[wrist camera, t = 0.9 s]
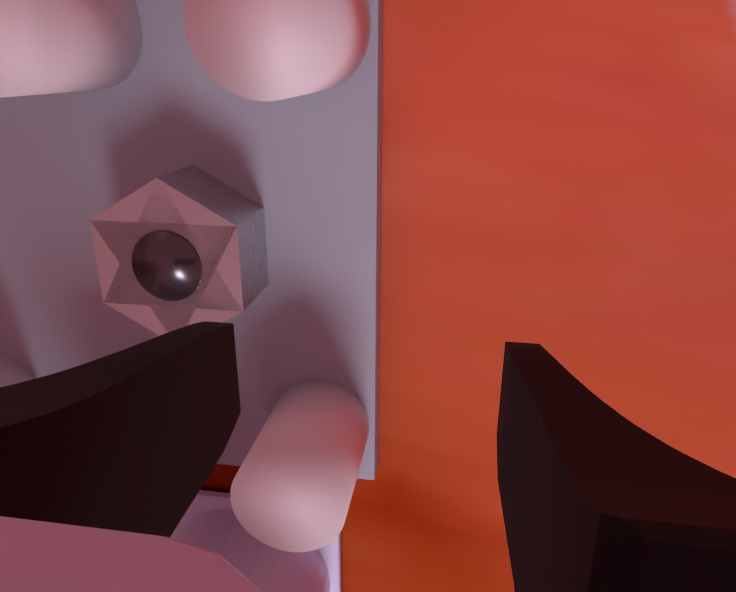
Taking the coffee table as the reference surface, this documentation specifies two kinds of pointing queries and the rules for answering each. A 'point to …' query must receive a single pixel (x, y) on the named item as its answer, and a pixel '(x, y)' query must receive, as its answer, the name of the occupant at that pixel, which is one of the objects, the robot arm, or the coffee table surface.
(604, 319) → the coffee table surface
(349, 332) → the spacer board
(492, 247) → the coffee table surface
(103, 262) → the hexagonal block with ball
